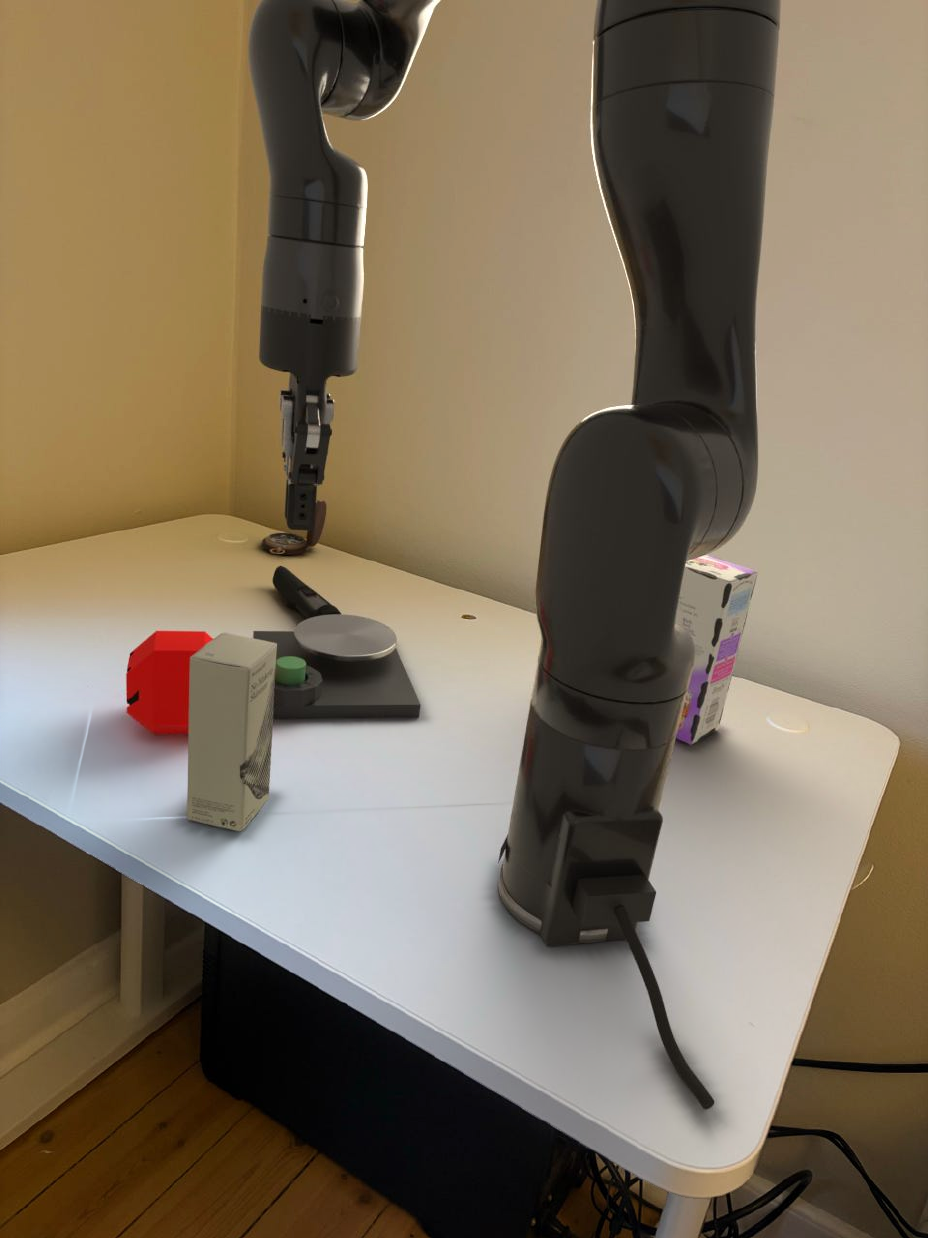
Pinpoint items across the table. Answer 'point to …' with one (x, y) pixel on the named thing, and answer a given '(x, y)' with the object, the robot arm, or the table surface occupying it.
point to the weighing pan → (345, 637)
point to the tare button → (290, 670)
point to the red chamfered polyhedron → (162, 680)
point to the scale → (342, 686)
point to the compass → (297, 536)
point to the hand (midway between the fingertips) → (299, 524)
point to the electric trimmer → (301, 595)
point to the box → (230, 730)
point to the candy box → (711, 637)
